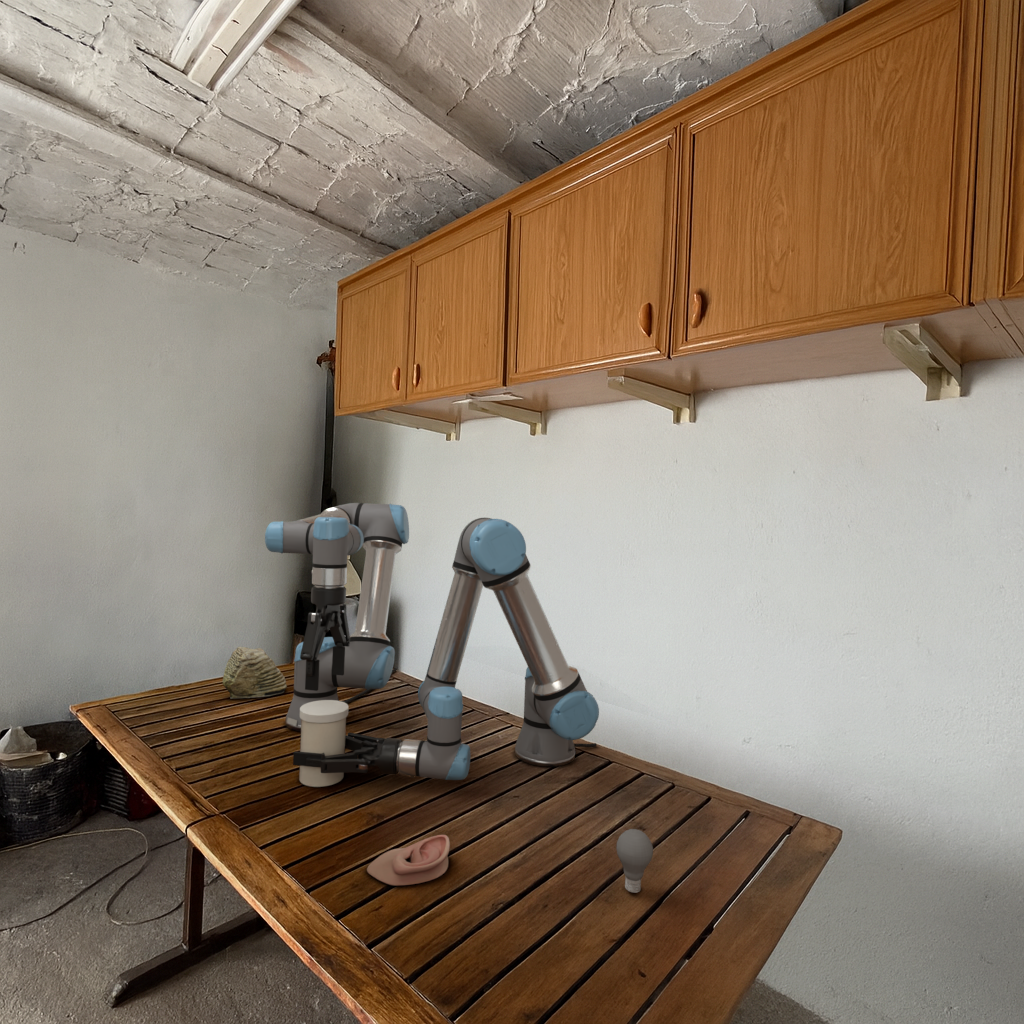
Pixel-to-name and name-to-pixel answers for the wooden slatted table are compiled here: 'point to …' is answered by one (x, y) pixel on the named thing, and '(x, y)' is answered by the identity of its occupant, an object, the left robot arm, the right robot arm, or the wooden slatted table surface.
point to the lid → (324, 711)
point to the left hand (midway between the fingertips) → (325, 681)
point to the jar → (321, 750)
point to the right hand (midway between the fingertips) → (304, 748)
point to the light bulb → (634, 857)
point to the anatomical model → (412, 862)
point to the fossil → (252, 674)
